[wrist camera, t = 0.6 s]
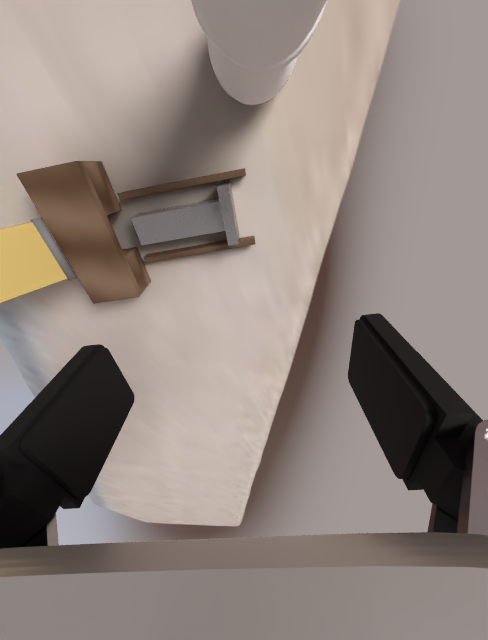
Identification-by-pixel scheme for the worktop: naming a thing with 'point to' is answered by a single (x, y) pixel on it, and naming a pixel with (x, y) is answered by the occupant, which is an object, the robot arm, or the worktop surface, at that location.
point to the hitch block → (102, 226)
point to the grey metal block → (190, 220)
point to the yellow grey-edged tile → (30, 260)
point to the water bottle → (256, 42)
